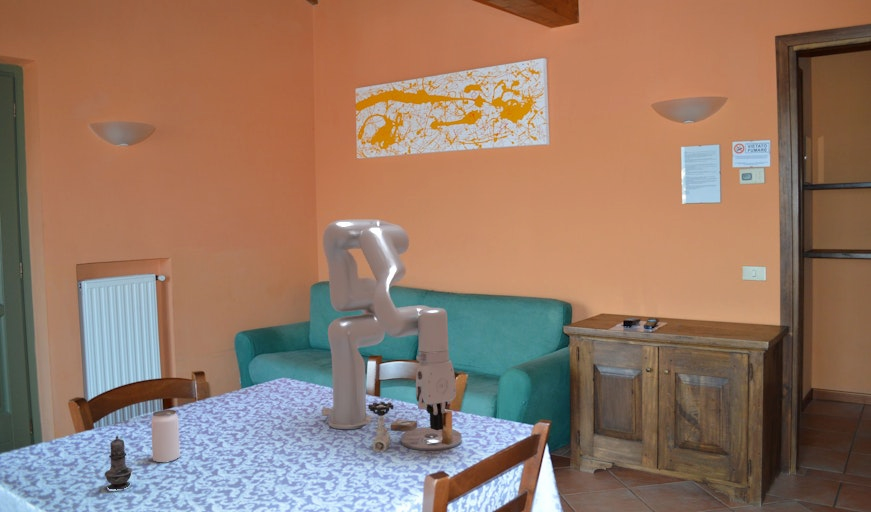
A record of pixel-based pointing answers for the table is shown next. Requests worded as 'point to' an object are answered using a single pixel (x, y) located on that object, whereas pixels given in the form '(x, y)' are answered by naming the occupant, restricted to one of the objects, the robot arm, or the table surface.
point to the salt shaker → (118, 466)
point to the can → (165, 436)
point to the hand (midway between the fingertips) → (436, 428)
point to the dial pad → (403, 425)
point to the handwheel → (433, 436)
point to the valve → (381, 426)
